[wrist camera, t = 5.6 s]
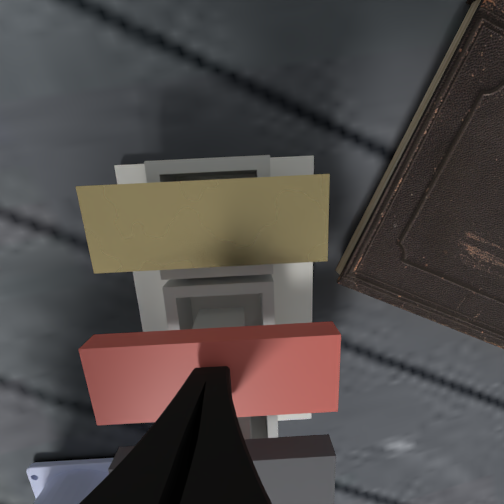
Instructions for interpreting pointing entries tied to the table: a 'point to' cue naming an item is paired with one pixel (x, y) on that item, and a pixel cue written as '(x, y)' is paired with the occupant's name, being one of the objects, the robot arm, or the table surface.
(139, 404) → the red plug
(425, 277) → the hardcover book
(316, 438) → the grey rectangular block
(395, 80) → the table surface
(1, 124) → the table surface
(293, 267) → the panel
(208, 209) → the brass plug
